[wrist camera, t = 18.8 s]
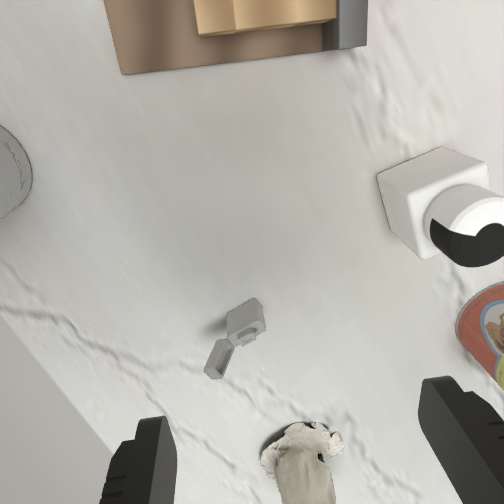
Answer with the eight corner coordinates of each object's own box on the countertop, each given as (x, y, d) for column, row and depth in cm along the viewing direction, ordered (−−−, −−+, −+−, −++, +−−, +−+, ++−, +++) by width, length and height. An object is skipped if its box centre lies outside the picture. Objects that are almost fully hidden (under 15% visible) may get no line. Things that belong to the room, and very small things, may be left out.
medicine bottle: (452, 206, 40) (538, 257, 29) (390, 231, 41) (451, 290, 30) (442, 145, 37) (534, 177, 26) (374, 173, 38) (437, 216, 27)
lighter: (255, 297, 43) (262, 343, 36) (262, 307, 44) (271, 353, 37) (205, 325, 44) (202, 374, 37) (213, 334, 45) (212, 384, 38)
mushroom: (201, 559, 45) (304, 565, 36) (254, 417, 61) (334, 397, 52) (271, 619, 48) (382, 638, 39) (304, 469, 64) (388, 457, 55)
